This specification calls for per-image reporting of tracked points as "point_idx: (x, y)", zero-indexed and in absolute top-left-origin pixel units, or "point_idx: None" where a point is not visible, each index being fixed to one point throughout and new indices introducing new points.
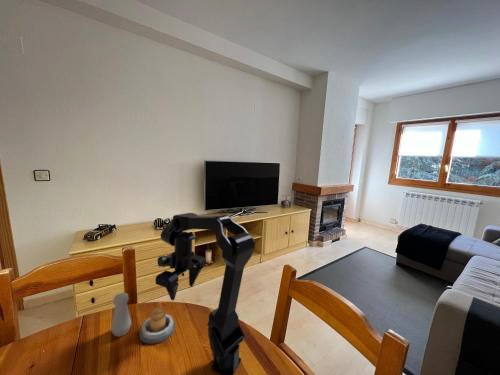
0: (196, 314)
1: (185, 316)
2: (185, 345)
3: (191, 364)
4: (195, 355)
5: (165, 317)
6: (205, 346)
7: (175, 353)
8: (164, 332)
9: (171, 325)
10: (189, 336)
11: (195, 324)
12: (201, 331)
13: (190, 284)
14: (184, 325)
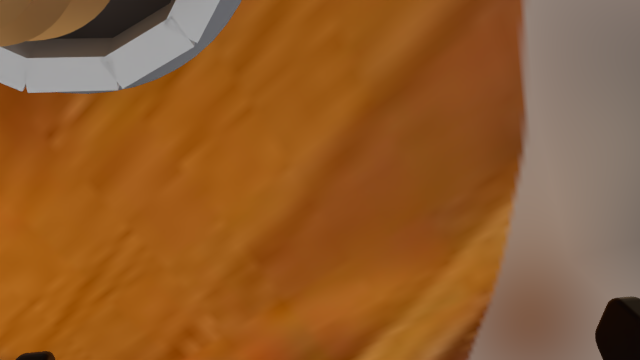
0: (453, 94)
1: (387, 16)
2: (117, 240)
3: None
4: (103, 332)
5: (93, 15)
6: (198, 335)
7: (14, 232)
8: (13, 86)
9: (130, 81)
10: (202, 209)
11: (336, 166)
12: (294, 246)
13: (627, 338)
14: (279, 94)
